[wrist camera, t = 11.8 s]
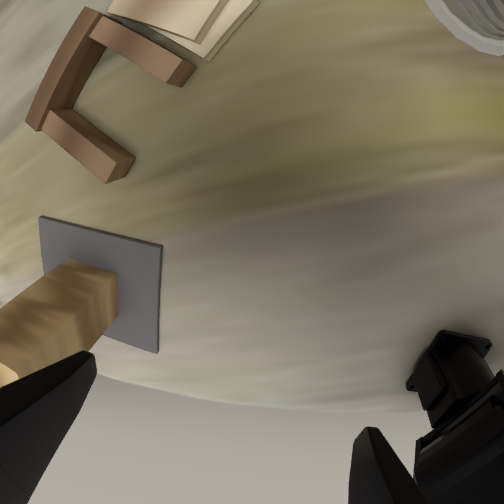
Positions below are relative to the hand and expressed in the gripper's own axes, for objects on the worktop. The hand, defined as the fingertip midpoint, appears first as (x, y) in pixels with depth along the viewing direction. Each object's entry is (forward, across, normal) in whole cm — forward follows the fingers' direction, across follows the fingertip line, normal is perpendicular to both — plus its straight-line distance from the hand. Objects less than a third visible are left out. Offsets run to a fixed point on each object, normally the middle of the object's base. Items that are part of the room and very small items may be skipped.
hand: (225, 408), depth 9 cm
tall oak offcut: (+13, +13, +7) cm, 19 cm away
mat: (+13, +13, +7) cm, 20 cm away
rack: (+13, +11, -11) cm, 20 cm away
